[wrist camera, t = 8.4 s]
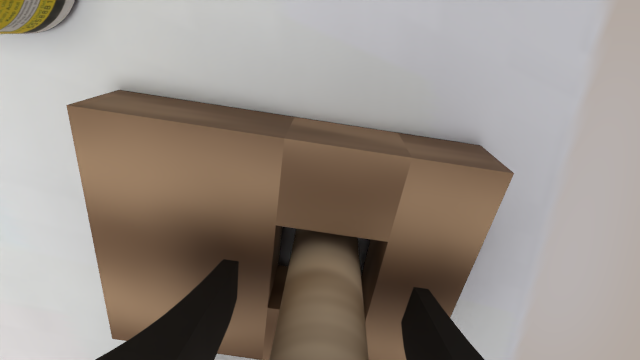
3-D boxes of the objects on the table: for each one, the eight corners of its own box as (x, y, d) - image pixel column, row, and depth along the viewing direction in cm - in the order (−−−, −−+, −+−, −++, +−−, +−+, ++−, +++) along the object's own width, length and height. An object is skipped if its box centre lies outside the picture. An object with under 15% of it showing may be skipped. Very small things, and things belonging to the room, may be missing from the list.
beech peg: (351, 264, 18) (362, 470, 9) (292, 256, 18) (252, 455, 9) (362, 214, 16) (387, 404, 8) (299, 205, 16) (259, 387, 8)
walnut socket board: (409, 332, 20) (421, 382, 17) (144, 294, 19) (112, 338, 17) (480, 145, 14) (513, 173, 12) (118, 90, 14) (66, 105, 11)
